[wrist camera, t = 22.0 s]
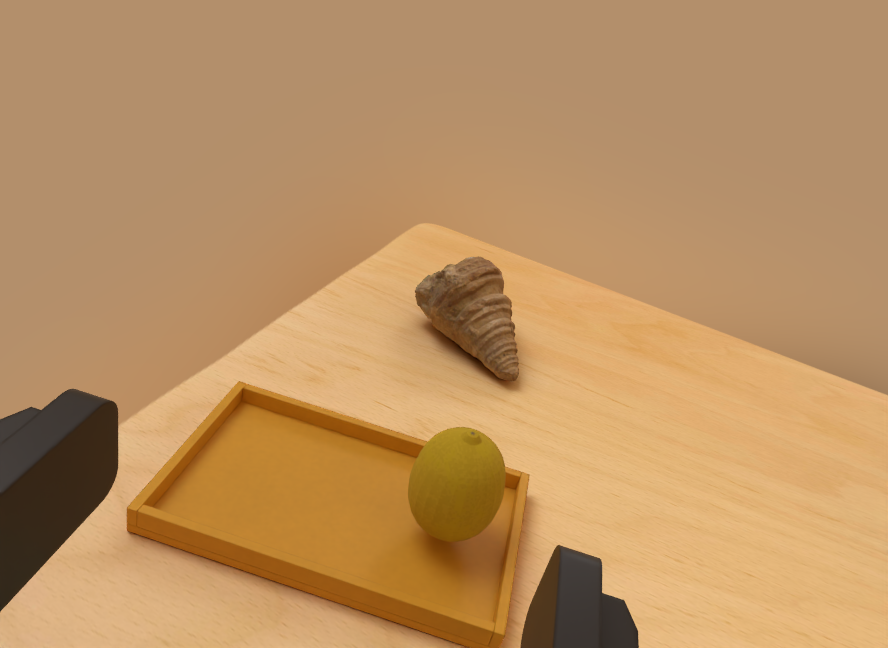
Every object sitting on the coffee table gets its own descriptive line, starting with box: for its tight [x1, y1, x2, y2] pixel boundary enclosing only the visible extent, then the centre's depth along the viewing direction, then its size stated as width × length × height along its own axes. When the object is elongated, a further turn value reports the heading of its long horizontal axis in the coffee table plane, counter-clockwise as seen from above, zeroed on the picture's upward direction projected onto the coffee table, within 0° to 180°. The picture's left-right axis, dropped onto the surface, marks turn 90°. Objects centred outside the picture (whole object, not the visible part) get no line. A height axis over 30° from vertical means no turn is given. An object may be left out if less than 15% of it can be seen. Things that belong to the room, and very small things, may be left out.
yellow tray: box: [127, 381, 529, 648], centre depth 43 cm, size 21×13×2 cm, turn 78°
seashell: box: [415, 257, 519, 381], centre depth 63 cm, size 14×8×8 cm
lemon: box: [408, 427, 506, 542], centre depth 41 cm, size 6×6×8 cm
